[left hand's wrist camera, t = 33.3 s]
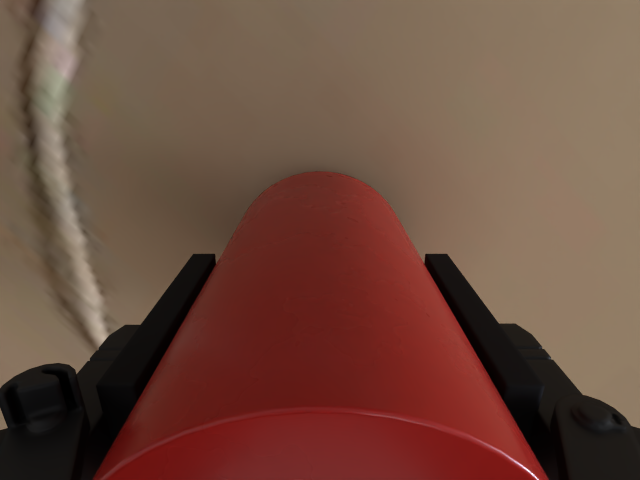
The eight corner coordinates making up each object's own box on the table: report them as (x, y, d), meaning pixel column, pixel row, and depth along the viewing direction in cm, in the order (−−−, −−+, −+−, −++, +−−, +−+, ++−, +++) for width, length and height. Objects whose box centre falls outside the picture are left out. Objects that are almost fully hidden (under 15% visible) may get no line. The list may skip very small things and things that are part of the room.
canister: (201, 244, 17) (-54, 589, 6) (331, 133, 16) (368, 286, 4) (310, 351, 19) (296, 769, 8) (436, 263, 18) (673, 626, 6)
